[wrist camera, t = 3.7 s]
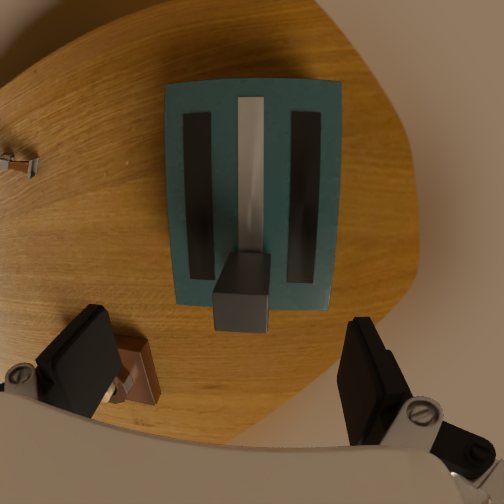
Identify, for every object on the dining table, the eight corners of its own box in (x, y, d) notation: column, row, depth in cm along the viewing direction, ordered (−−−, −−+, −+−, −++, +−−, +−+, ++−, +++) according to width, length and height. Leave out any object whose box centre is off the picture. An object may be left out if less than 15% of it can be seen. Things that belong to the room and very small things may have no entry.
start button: (110, 373, 26) (103, 384, 24) (119, 394, 27) (112, 405, 25) (86, 367, 26) (78, 377, 24) (95, 388, 27) (88, 398, 25)
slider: (271, 253, 17) (268, 294, 12) (270, 284, 18) (267, 333, 13) (229, 252, 17) (211, 292, 13) (230, 283, 18) (214, 330, 13)
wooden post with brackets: (-9, 146, 21) (-28, 152, 17) (46, 153, 25) (31, 160, 21) (-11, 161, 22) (-30, 170, 18) (44, 169, 25) (29, 179, 21)
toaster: (327, 95, 19) (345, 77, 14) (319, 276, 24) (331, 314, 19) (189, 96, 20) (160, 81, 14) (195, 272, 25) (173, 307, 19)
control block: (148, 339, 28) (133, 363, 24) (161, 392, 31) (150, 417, 27) (73, 326, 29) (54, 346, 25) (91, 377, 32) (78, 397, 28)
